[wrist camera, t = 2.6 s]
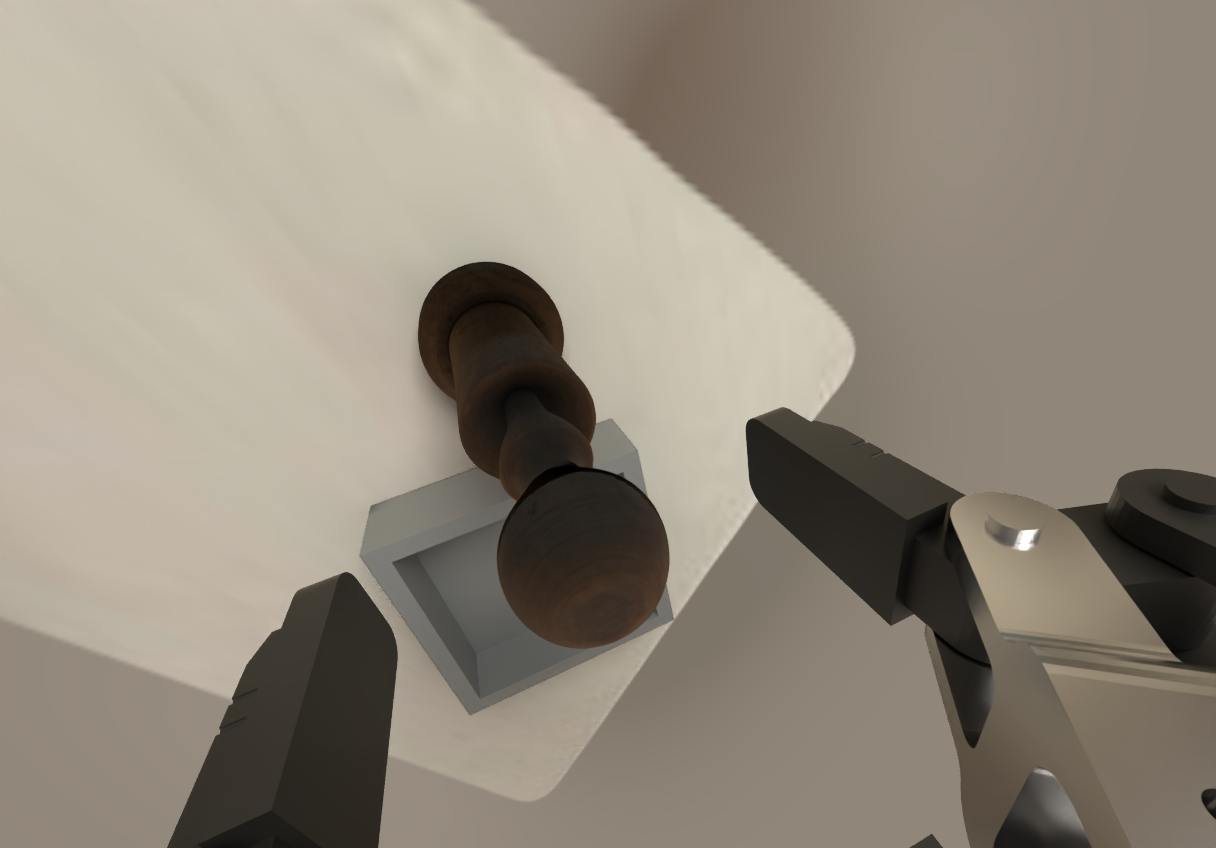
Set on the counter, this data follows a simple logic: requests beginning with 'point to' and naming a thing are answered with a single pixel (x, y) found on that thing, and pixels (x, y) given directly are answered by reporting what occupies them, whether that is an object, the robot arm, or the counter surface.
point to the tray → (476, 579)
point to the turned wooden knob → (542, 460)
